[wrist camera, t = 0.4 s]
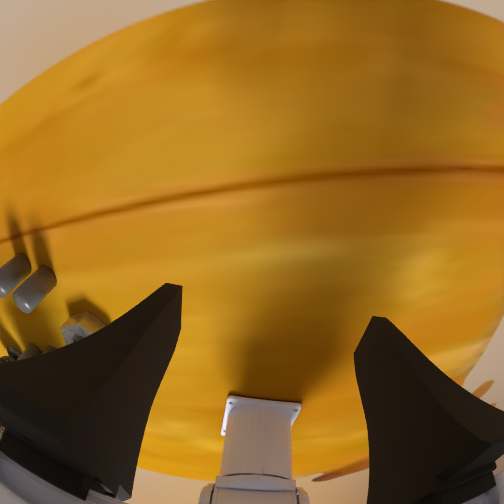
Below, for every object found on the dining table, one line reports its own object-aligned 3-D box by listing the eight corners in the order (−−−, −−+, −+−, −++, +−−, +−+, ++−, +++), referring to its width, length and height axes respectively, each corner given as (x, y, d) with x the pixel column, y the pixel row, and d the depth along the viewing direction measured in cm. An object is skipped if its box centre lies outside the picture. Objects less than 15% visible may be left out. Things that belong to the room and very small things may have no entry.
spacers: (138, 393, 29) (127, 422, 25) (32, 353, 29) (17, 374, 25) (120, 278, 22) (95, 310, 18) (-4, 246, 22) (-30, 265, 18)
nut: (119, 358, 27) (112, 373, 25) (79, 345, 27) (71, 358, 25) (111, 315, 24) (101, 331, 22) (68, 303, 24) (56, 316, 22)
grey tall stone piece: (1, 340, 29) (-38, 392, 19) (25, 352, 29) (-15, 411, 19) (14, 365, 32) (-19, 415, 21) (38, 378, 32) (5, 433, 21)
